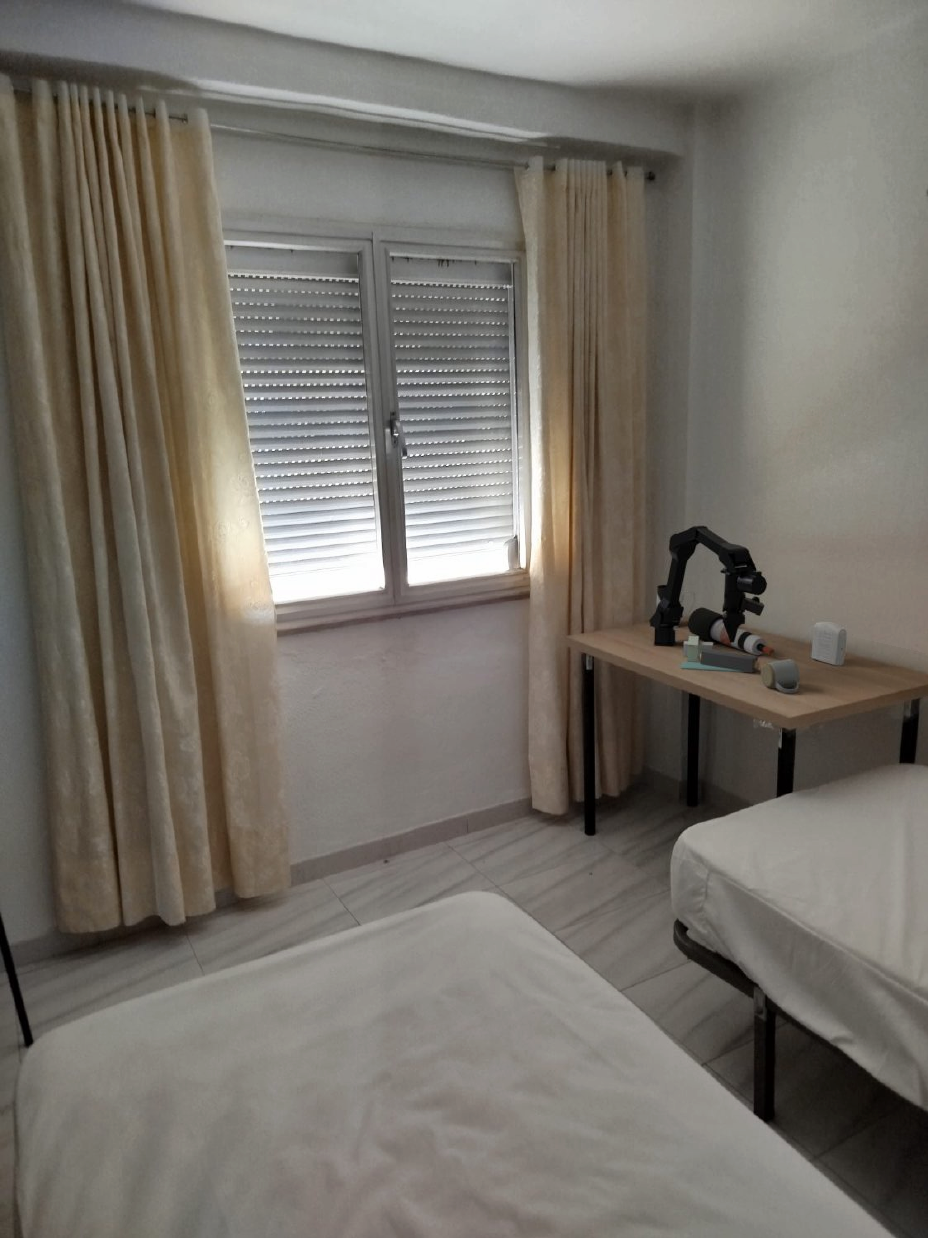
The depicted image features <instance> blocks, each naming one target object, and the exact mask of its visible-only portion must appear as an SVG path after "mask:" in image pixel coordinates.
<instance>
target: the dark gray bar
mask: <svg viewBox="0 0 928 1238" xmlns="http://www.w3.org/2000/svg"><path fill="white" fill-rule="evenodd" d="M699 660H700V662H701V664H702V665H708V666H714V667H720V668H726V669H732V670H739V671H745V672H744V673H754V672H756V671H758V669H759V668H760V661H759V657H758V656H757V655H749V654H748V655H747V654H742V653H736V652H730V651H729V652H728V651H722V650H716V649H713V650H710V649H706V650H704V651H702V652H701V654H700V657H699Z"/></svg>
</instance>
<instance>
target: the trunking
mask: <svg viewBox="0 0 928 1238" xmlns="http://www.w3.org/2000/svg"><path fill="white" fill-rule="evenodd" d="M706 649H710V650H714V643H713V642H710V641H699V642H698V653H697V658H700V654H701V652H702V651H704V650H706ZM687 651H688V640H684V641H683V652H682V656H683V657H687Z"/></svg>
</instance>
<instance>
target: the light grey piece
mask: <svg viewBox="0 0 928 1238" xmlns="http://www.w3.org/2000/svg"><path fill="white" fill-rule="evenodd" d="M699 638H700V637H699V636H696V635H694V634H692V635H688V640H687V641H688V651H687V656H686V657H687V658H686V659H687V661H686V662H698V657H697V653H698V642H700V640H699Z"/></svg>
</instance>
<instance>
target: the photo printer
mask: <svg viewBox="0 0 928 1238" xmlns="http://www.w3.org/2000/svg"><path fill="white" fill-rule="evenodd" d="M846 644H847V630H846V628H844V627H843V626H841V625H840V624H837V623H834V622H831V621H820V622H816V623H815V624H814V626H813V634H812V647H811V658H812V659H813V660H816V661H820V662H824V663H827V664H830V665H833V666H837V667H838V666H843V664H845V657H846V656H845V655H846V647H847V645H846Z"/></svg>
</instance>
